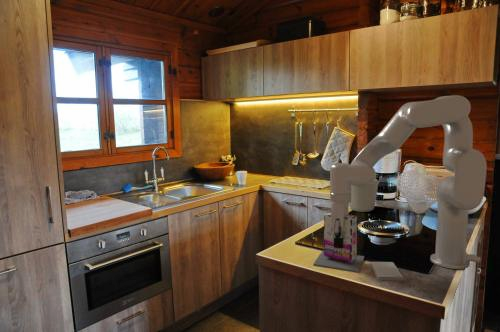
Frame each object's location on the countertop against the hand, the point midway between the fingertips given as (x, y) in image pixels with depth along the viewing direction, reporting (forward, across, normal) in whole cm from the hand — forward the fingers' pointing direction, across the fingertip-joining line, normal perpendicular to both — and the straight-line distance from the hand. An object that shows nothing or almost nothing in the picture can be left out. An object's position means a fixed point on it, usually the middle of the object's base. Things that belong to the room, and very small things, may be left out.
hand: (340, 244), depth 135 cm
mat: (+7, 0, 0) cm, 7 cm away
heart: (+7, -78, +26) cm, 82 cm away
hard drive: (+8, +3, +16) cm, 18 cm away
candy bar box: (+5, 0, 0) cm, 5 cm away
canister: (+7, -76, -3) cm, 76 cm away
